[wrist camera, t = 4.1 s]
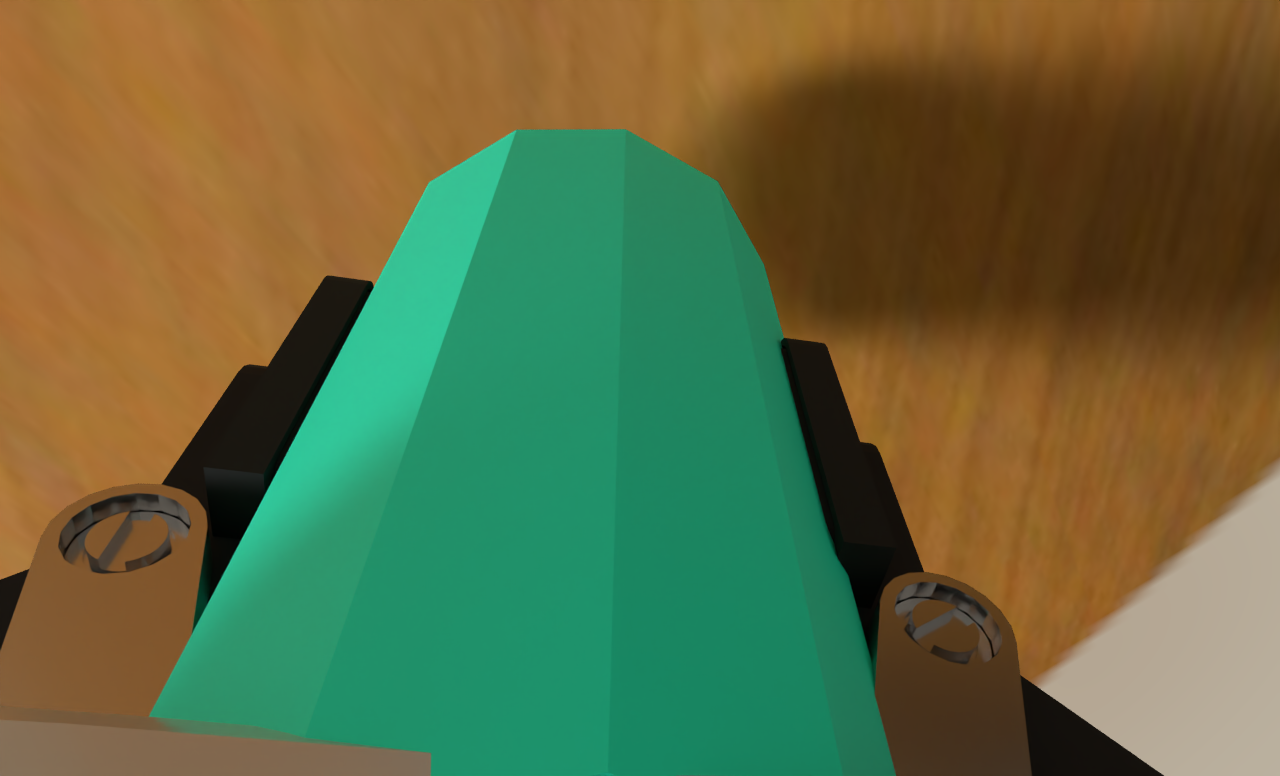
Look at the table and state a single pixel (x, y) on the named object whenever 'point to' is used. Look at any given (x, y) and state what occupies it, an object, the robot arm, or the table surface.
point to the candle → (552, 501)
